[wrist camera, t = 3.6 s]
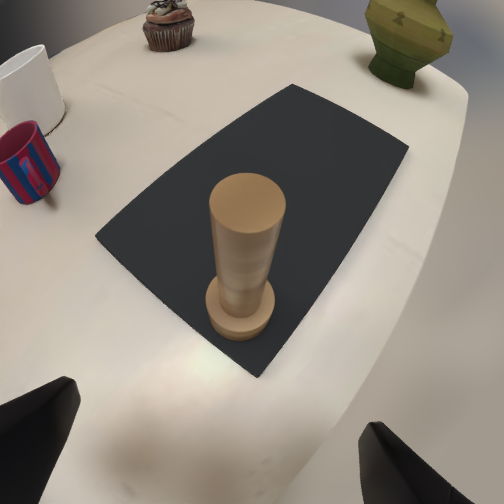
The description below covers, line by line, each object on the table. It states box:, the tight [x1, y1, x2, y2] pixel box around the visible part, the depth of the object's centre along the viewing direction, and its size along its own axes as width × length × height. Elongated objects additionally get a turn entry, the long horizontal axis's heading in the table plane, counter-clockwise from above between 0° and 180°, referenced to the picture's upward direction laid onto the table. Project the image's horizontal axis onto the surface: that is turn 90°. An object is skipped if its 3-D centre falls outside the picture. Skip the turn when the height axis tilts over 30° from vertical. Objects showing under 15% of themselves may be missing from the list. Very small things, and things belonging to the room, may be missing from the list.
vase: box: [365, 0, 453, 89], centre depth 31 cm, size 16×16×30 cm
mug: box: [0, 45, 65, 136], centre depth 28 cm, size 10×12×12 cm
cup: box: [0, 120, 60, 204], centre depth 24 cm, size 7×10×7 cm
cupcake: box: [142, 0, 195, 52], centre depth 40 cm, size 10×10×10 cm
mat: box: [95, 84, 409, 378], centre depth 28 cm, size 18×32×1 cm, turn 143°
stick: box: [206, 173, 286, 341], centre depth 16 cm, size 4×4×13 cm
